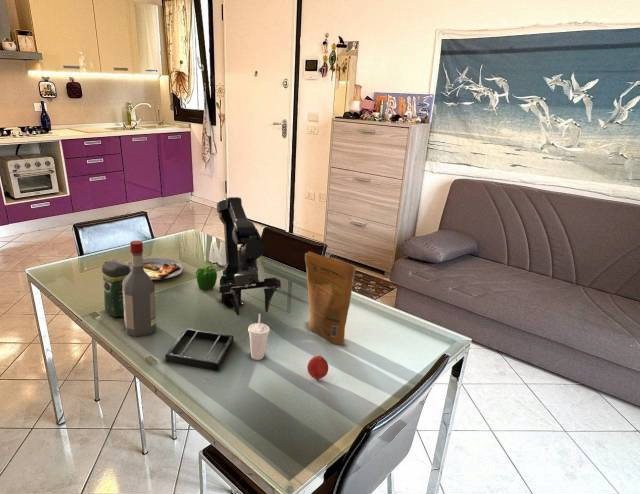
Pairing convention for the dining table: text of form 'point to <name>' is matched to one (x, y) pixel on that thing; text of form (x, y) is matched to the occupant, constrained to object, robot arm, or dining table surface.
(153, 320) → the liquor
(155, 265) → the food plate
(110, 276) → the coffee jar
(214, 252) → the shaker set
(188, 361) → the divided serving tray
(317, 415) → the dining table surface
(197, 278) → the bell pepper
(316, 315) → the pancake mix bag
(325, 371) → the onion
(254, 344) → the smoothie
